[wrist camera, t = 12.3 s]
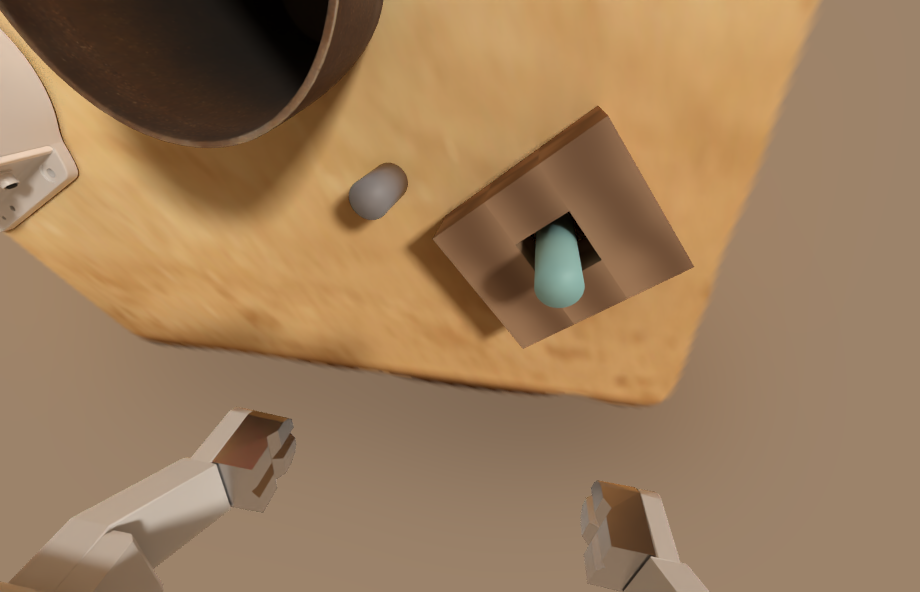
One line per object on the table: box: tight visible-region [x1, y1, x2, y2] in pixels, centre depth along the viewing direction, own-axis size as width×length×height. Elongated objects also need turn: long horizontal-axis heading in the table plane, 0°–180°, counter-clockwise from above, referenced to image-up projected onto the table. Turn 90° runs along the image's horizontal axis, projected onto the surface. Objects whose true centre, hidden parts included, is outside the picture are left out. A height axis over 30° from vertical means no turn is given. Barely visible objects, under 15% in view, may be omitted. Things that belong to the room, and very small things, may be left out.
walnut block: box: [433, 106, 694, 349], centre depth 31 cm, size 14×12×5 cm
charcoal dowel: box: [349, 163, 408, 220], centre depth 31 cm, size 3×3×5 cm
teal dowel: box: [534, 213, 585, 308], centre depth 29 cm, size 3×3×10 cm
